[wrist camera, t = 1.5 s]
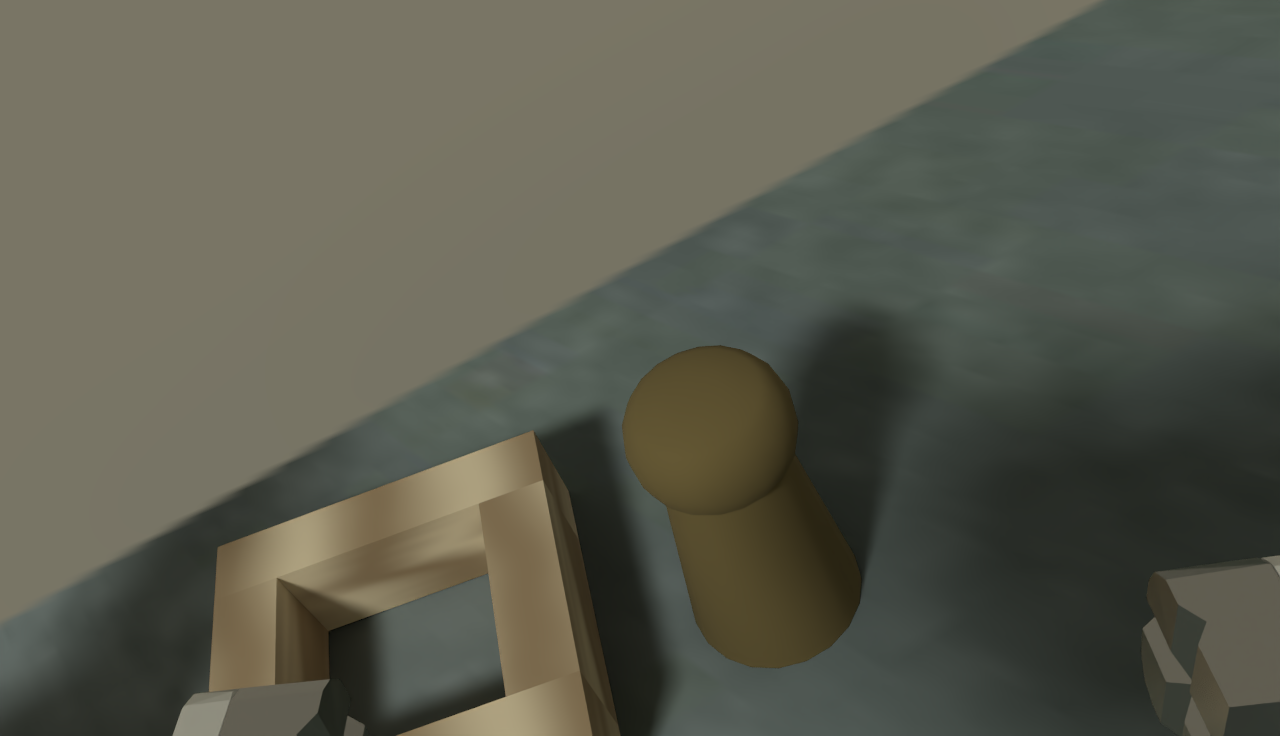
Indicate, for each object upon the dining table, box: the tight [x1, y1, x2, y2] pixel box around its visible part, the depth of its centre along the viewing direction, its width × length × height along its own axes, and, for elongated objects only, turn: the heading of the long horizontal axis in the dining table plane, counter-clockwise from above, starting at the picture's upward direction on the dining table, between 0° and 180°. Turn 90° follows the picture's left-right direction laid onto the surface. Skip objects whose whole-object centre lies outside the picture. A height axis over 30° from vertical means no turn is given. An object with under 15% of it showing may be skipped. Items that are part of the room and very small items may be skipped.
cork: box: [622, 345, 861, 668], centre depth 38 cm, size 6×6×11 cm
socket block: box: [209, 431, 621, 736], centre depth 42 cm, size 13×13×4 cm
